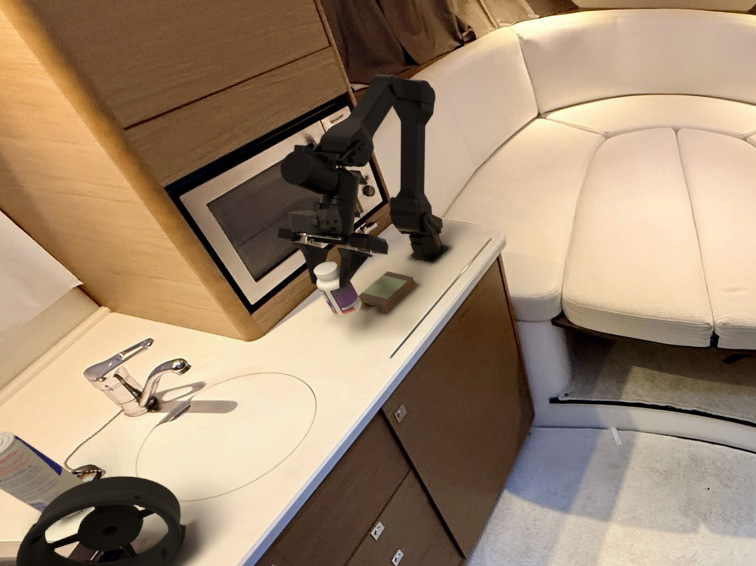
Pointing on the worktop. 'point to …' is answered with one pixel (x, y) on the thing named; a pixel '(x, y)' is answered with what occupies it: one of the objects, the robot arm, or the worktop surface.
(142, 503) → the black wheel
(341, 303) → the pill bottle
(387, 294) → the box with green label
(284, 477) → the worktop surface
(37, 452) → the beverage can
